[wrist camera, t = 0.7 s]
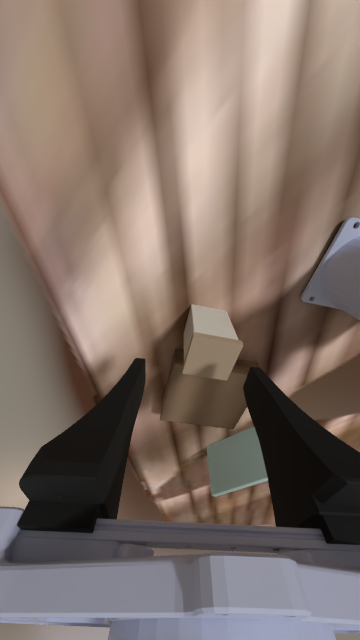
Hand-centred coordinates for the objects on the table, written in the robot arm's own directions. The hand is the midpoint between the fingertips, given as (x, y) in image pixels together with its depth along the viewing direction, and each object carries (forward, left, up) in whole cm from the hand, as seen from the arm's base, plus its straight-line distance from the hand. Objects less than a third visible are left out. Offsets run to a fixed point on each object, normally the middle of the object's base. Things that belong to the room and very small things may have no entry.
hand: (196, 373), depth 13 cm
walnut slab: (-5, +11, -10) cm, 16 cm away
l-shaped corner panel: (-18, +26, -10) cm, 33 cm away
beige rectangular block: (-2, +1, -10) cm, 10 cm away
